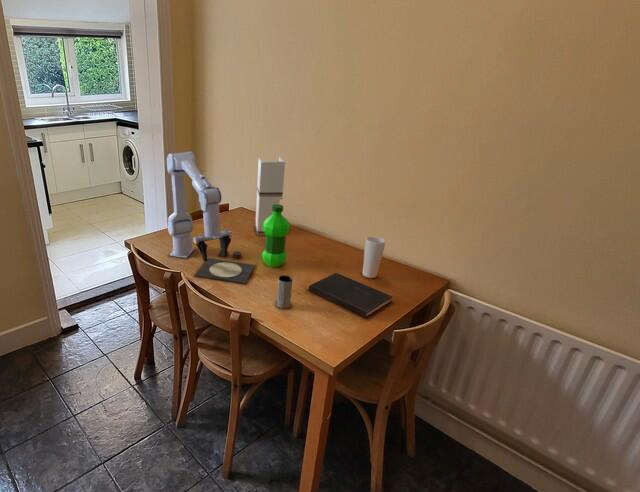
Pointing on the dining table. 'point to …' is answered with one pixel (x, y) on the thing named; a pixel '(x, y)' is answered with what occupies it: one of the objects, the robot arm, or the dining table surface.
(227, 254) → the eye left
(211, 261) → the board
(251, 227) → the dining table surface
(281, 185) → the white rectangular tower
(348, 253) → the dining table surface
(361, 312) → the hardcover book
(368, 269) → the drinking glass
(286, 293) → the grey metal cylinder
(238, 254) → the eye right
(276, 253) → the plastic bottle
